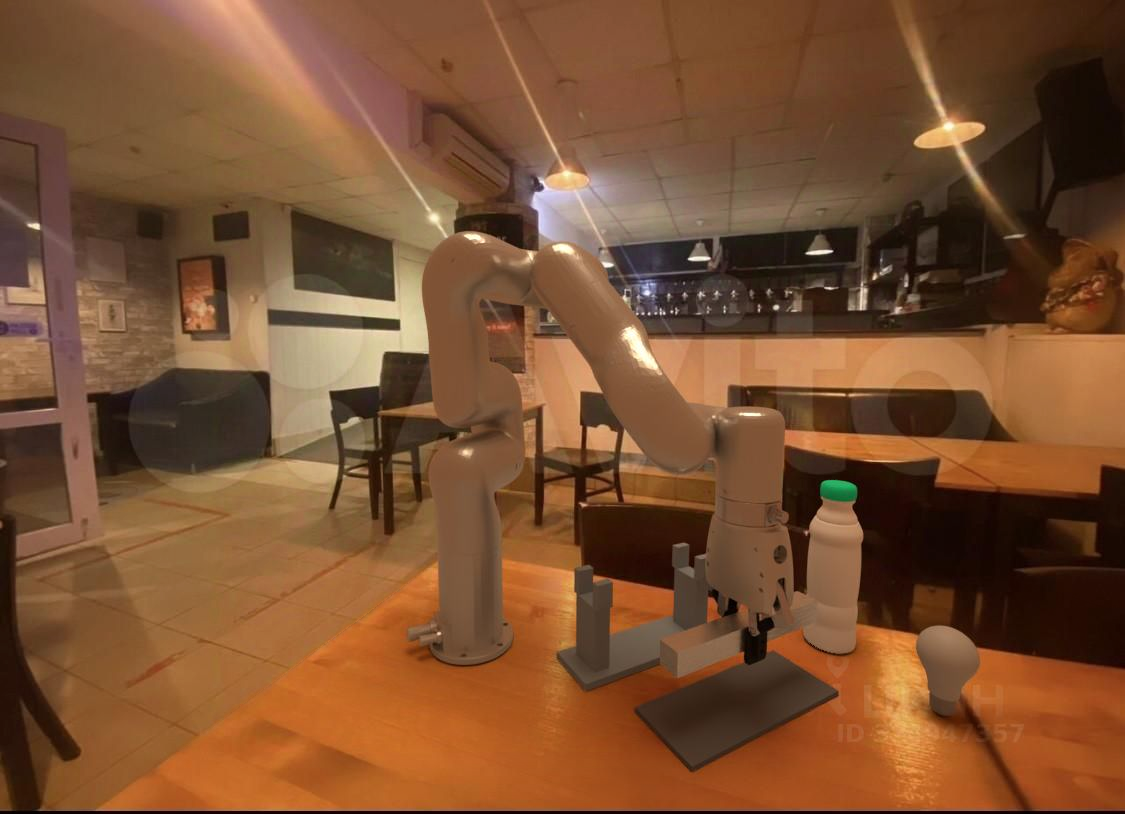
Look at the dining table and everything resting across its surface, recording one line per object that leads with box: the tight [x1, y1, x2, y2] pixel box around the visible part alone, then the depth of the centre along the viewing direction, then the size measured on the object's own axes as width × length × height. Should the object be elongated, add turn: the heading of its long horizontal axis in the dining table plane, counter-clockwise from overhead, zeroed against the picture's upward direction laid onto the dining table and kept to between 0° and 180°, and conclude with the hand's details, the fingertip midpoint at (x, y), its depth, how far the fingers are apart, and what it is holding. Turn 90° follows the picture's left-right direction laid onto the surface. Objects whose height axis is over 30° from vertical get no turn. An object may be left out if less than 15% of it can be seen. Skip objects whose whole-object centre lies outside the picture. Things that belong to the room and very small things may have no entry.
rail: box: [659, 590, 818, 679], centre depth 61 cm, size 24×3×3 cm, turn 118°
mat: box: [634, 649, 840, 773], centre depth 62 cm, size 25×10×1 cm, turn 118°
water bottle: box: [802, 479, 864, 655], centre depth 74 cm, size 7×7×25 cm
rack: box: [556, 542, 709, 692], centre depth 73 cm, size 25×8×14 cm, turn 118°
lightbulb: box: [915, 625, 981, 717], centre depth 60 cm, size 6×6×11 cm
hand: (742, 651), depth 62 cm, fingers closed on rail, 3 cm apart
